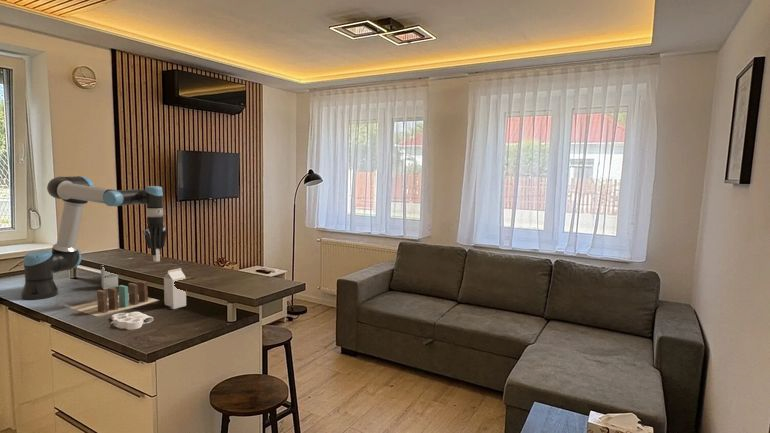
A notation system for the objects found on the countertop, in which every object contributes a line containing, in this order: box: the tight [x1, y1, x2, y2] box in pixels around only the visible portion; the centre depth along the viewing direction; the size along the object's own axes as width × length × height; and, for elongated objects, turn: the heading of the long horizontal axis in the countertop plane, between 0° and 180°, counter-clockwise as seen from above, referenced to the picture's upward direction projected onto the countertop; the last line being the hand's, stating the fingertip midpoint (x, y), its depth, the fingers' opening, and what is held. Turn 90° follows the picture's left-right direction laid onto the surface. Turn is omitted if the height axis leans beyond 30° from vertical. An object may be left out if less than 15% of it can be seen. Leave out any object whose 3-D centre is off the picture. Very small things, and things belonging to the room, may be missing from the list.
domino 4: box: [127, 282, 139, 305], centre depth 219 cm, size 2×5×10 cm, turn 62°
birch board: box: [67, 292, 160, 318], centre depth 218 cm, size 26×30×1 cm
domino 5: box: [137, 280, 149, 302], centre depth 223 cm, size 2×5×10 cm, turn 62°
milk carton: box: [163, 267, 187, 310], centre depth 219 cm, size 7×7×19 cm
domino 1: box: [96, 289, 108, 313], centre depth 206 cm, size 2×5×10 cm, turn 62°
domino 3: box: [117, 284, 129, 307], centre depth 214 cm, size 2×5×10 cm, turn 62°
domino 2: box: [107, 287, 119, 310], centre depth 210 cm, size 2×5×10 cm, turn 62°
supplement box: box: [100, 267, 119, 291], centre depth 250 cm, size 7×7×13 cm
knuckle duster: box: [109, 311, 154, 331], centre depth 196 cm, size 3×18×15 cm
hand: (156, 261), depth 229 cm, fingers closed
